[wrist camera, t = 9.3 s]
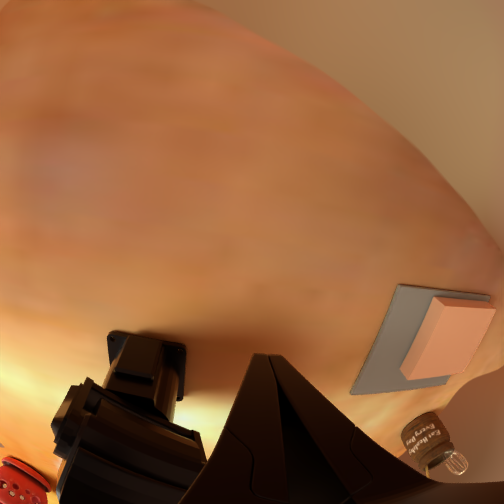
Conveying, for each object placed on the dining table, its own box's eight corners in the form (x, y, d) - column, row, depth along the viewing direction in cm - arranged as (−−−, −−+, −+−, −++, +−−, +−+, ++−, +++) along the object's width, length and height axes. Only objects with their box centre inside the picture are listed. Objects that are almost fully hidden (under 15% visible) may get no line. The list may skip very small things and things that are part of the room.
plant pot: (-5, 442, 28) (-25, 484, 17) (53, 476, 31) (38, 523, 20) (6, 465, 31) (-9, 502, 20) (57, 493, 34) (46, 533, 23)
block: (398, 367, 25) (454, 362, 26) (407, 380, 23) (463, 372, 24) (432, 295, 22) (485, 300, 23) (444, 306, 20) (496, 309, 21)
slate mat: (443, 382, 27) (445, 384, 27) (349, 392, 25) (350, 395, 25) (488, 295, 24) (490, 296, 23) (397, 284, 22) (400, 286, 21)
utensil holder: (441, 414, 30) (478, 471, 19) (408, 442, 32) (439, 500, 20) (426, 406, 29) (468, 472, 17) (390, 436, 30) (423, 503, 19)
